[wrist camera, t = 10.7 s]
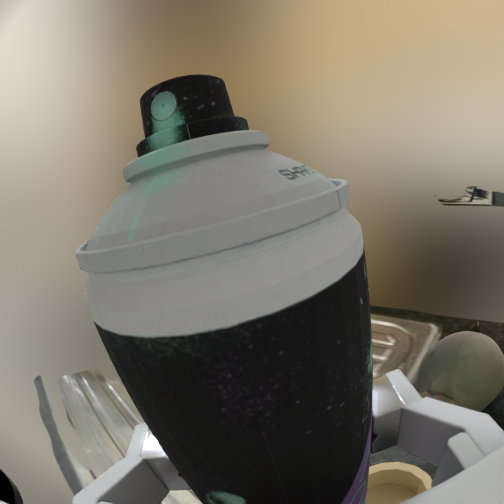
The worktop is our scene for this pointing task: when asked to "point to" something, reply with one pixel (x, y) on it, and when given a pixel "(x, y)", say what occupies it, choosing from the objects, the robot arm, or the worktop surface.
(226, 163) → the spray can
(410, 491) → the beige base ring
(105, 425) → the worktop surface
